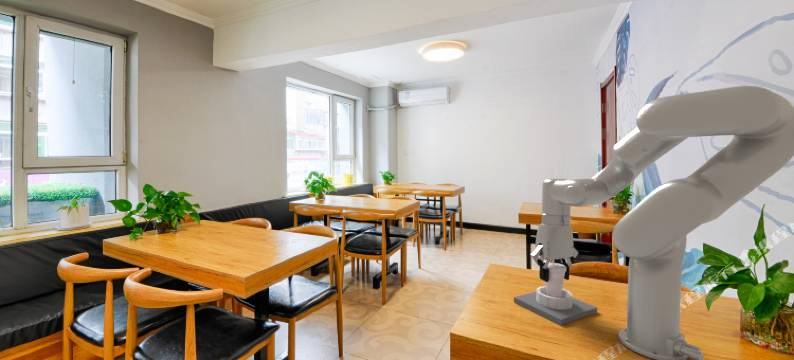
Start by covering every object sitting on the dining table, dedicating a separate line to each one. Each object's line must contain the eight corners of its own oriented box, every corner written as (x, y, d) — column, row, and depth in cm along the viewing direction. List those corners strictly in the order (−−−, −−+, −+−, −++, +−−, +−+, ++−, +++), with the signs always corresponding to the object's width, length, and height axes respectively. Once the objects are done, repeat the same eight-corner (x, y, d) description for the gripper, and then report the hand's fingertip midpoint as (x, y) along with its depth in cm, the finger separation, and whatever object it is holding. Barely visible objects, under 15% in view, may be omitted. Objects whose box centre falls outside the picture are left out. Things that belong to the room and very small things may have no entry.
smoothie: (556, 292, 97) (557, 248, 96) (570, 301, 91) (572, 253, 90) (537, 293, 96) (538, 248, 96) (550, 302, 90) (551, 254, 89)
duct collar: (597, 312, 90) (597, 297, 90) (560, 325, 83) (561, 308, 83) (548, 292, 104) (548, 279, 104) (513, 301, 97) (514, 287, 97)
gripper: (570, 216, 98) (568, 272, 99) (522, 219, 94) (521, 277, 95) (590, 221, 91) (588, 281, 92) (539, 223, 87) (537, 286, 88)
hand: (554, 278), depth 93 cm, fingers closed on smoothie, 6 cm apart
